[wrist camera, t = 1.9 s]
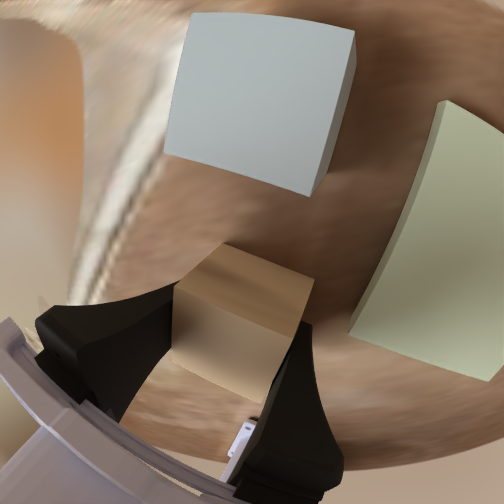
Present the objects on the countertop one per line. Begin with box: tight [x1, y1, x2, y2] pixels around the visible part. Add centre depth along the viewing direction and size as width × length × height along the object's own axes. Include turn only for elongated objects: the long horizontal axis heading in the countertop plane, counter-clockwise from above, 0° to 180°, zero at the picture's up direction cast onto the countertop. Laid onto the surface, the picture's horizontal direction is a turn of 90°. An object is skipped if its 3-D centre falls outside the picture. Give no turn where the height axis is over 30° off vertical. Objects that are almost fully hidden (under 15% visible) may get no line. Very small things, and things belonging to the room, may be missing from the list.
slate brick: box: [164, 13, 357, 197], centre depth 8 cm, size 4×4×4 cm
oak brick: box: [171, 243, 315, 404], centre depth 12 cm, size 4×4×4 cm
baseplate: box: [348, 100, 504, 382], centre depth 8 cm, size 10×9×1 cm
